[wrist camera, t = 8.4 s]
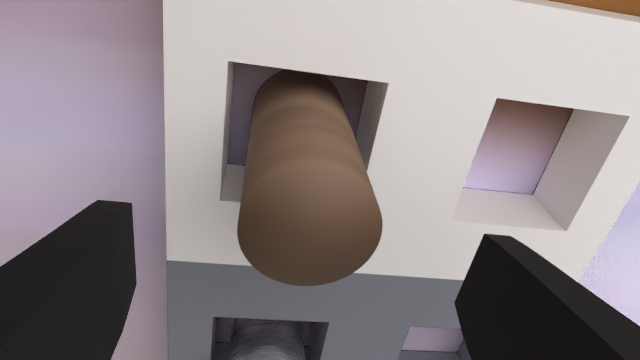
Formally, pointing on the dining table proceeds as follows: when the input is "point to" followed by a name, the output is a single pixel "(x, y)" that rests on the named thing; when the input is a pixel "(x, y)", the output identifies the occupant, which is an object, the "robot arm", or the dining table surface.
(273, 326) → the pin
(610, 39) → the white grey peg board
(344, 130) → the walnut pin
